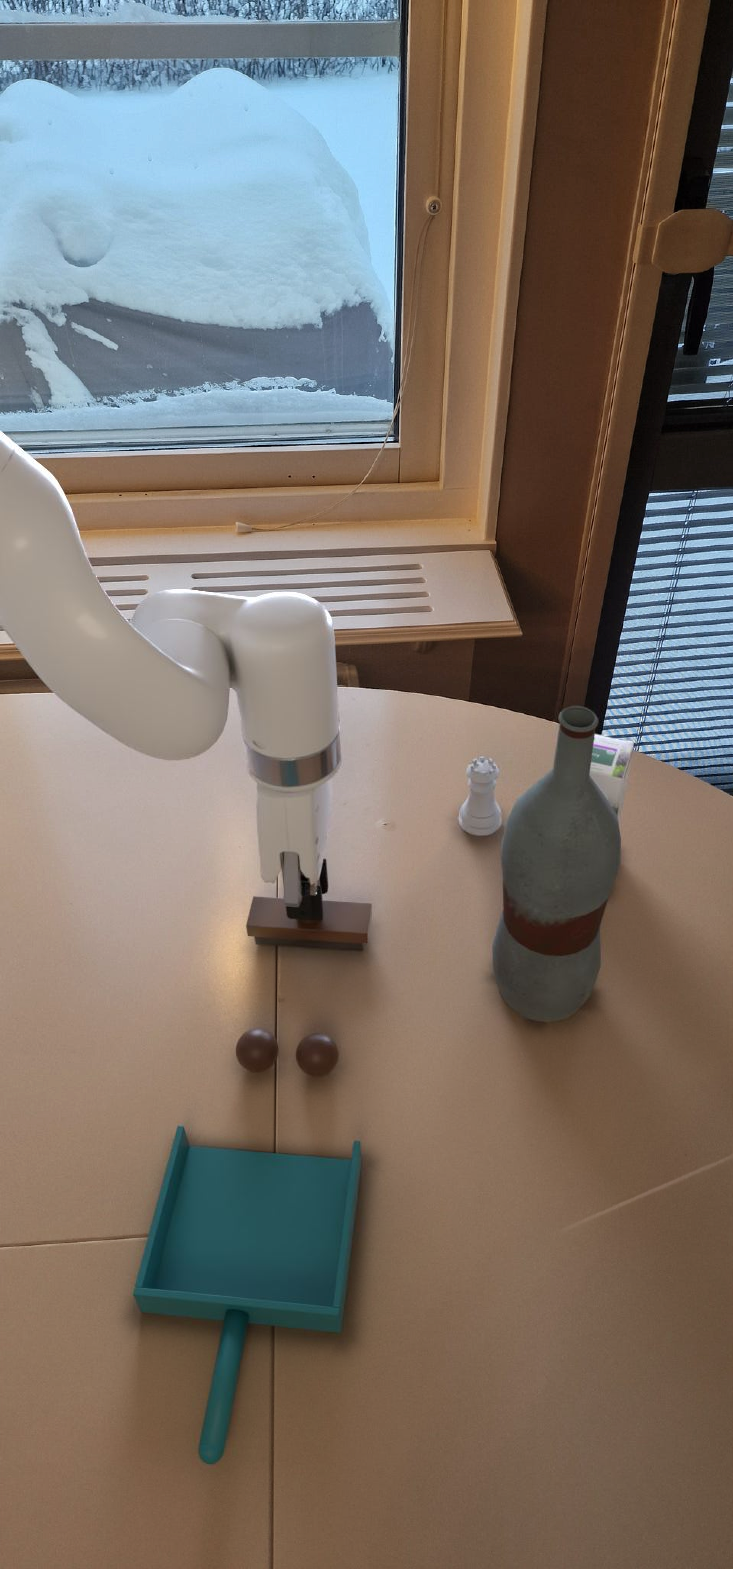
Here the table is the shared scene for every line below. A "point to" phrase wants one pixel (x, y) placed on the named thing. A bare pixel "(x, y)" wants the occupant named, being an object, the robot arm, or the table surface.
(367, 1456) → the table surface
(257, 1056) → the ball left
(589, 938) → the bottle
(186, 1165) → the dustpan
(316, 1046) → the ball right
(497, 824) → the rook chess piece
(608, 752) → the syrup box
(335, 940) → the brush
